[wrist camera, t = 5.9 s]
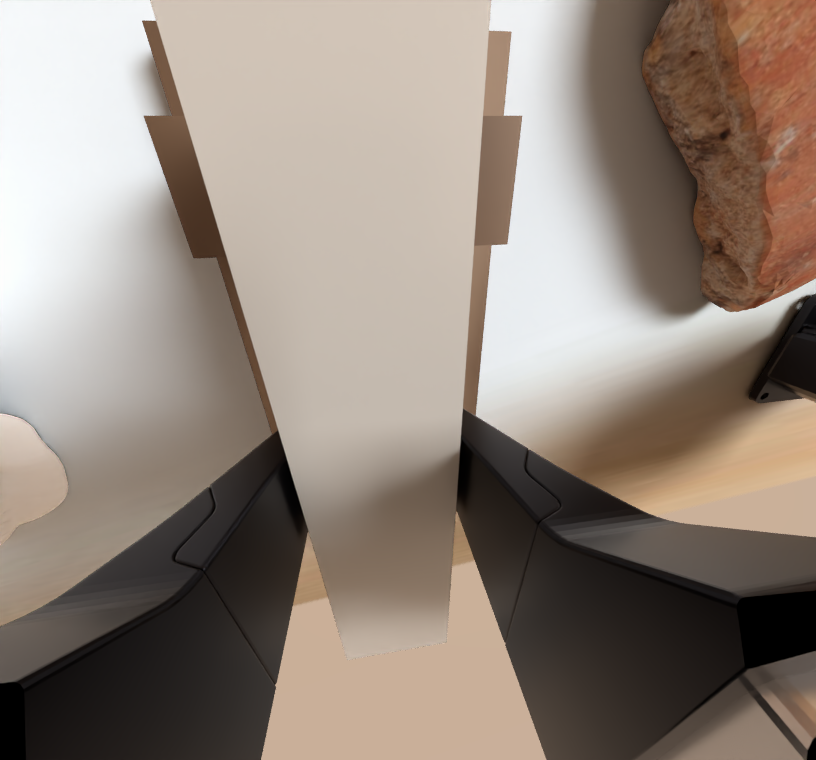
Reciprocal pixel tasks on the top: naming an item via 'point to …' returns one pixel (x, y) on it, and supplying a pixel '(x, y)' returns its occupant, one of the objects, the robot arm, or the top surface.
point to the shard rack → (490, 212)
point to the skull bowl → (26, 476)
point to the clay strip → (351, 267)
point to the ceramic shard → (743, 138)
